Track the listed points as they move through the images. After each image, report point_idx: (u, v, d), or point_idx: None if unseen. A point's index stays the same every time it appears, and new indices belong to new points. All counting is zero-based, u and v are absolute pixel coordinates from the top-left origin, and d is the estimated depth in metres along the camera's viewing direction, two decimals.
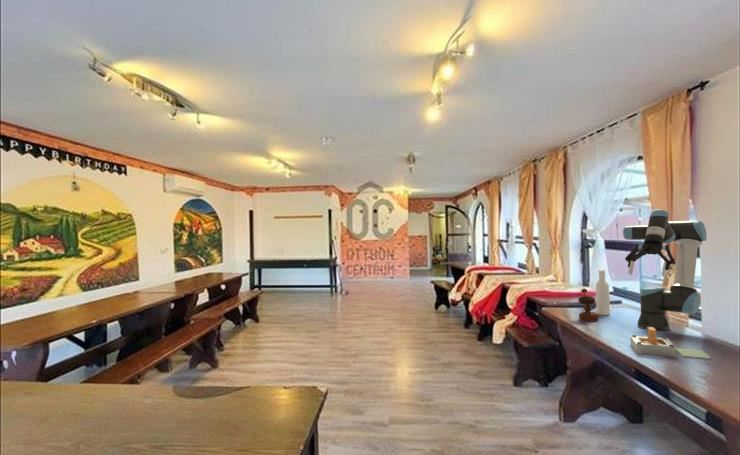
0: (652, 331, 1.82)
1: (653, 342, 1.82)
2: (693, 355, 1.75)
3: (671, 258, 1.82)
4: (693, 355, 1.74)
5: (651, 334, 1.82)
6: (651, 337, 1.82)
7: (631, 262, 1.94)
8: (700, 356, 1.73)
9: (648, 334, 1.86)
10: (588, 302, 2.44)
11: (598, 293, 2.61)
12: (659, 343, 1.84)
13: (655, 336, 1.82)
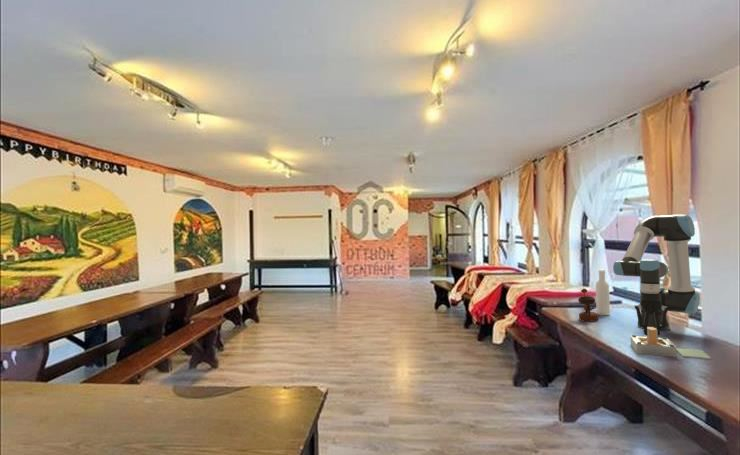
0: (652, 331, 1.82)
1: (653, 342, 1.82)
2: (693, 355, 1.75)
3: (663, 324, 1.82)
4: (693, 355, 1.74)
5: (651, 334, 1.82)
6: (651, 337, 1.82)
7: (648, 330, 1.84)
8: (700, 356, 1.73)
9: None
10: (588, 302, 2.44)
11: (598, 293, 2.61)
12: (659, 343, 1.84)
13: (655, 336, 1.82)
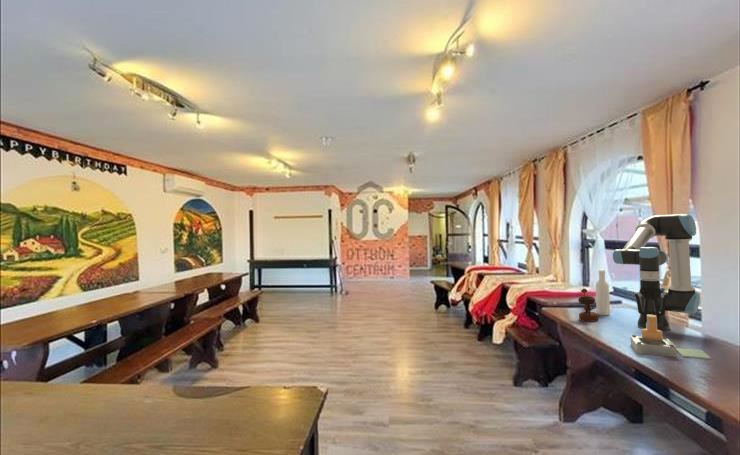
0: (651, 318, 1.83)
1: (652, 329, 1.83)
2: (693, 355, 1.75)
3: (662, 311, 1.82)
4: (693, 355, 1.74)
5: (650, 321, 1.83)
6: (650, 324, 1.83)
7: (647, 318, 1.85)
8: (700, 356, 1.73)
9: None
10: (588, 302, 2.44)
11: (598, 293, 2.61)
12: (658, 330, 1.85)
13: (654, 323, 1.82)
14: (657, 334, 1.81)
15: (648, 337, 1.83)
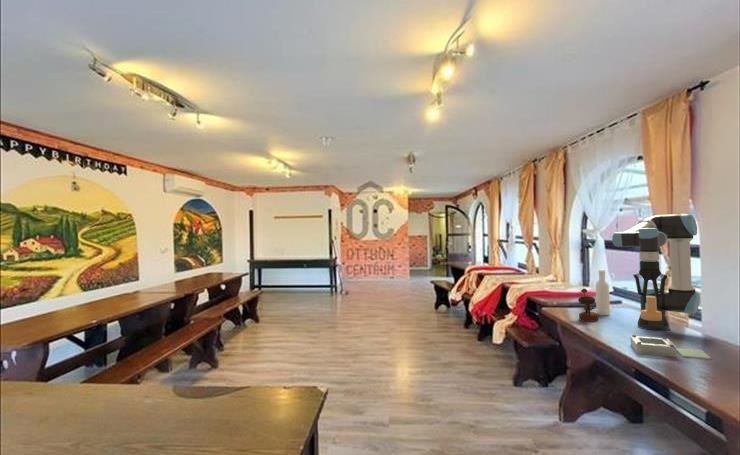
0: (651, 299, 1.82)
1: (652, 310, 1.82)
2: (693, 355, 1.75)
3: (662, 292, 1.82)
4: (693, 355, 1.74)
5: (650, 302, 1.83)
6: (650, 305, 1.83)
7: (647, 299, 1.84)
8: (700, 356, 1.73)
9: None
10: (588, 302, 2.44)
11: (598, 293, 2.61)
12: (658, 311, 1.84)
13: (654, 304, 1.82)
14: (656, 314, 1.81)
15: (647, 318, 1.83)
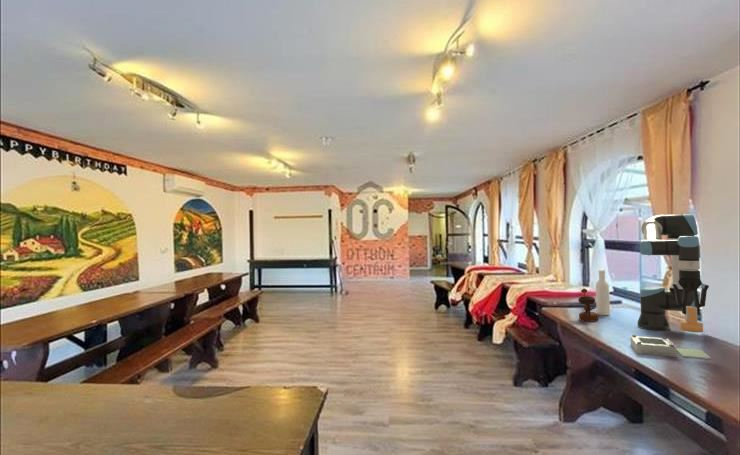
0: (692, 309, 1.76)
1: (693, 321, 1.76)
2: (693, 355, 1.75)
3: (703, 302, 1.76)
4: (693, 355, 1.74)
5: (690, 313, 1.76)
6: (690, 316, 1.76)
7: (687, 309, 1.78)
8: (700, 356, 1.73)
9: None
10: (588, 302, 2.44)
11: (598, 293, 2.61)
12: (698, 322, 1.78)
13: (695, 315, 1.75)
14: (698, 326, 1.74)
15: (688, 329, 1.76)
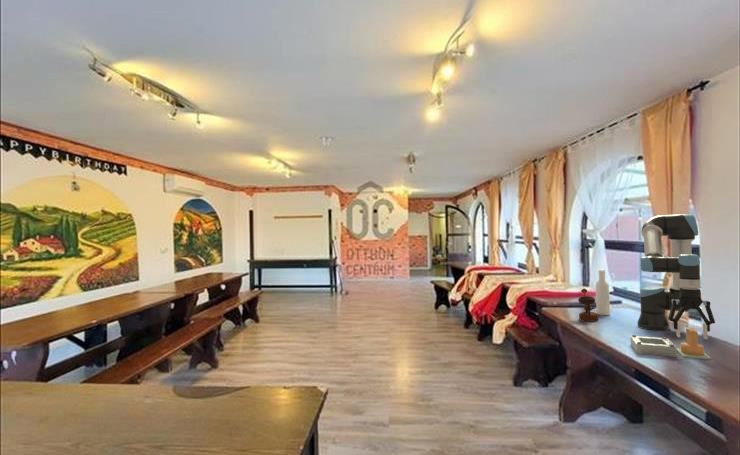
0: (693, 332, 1.76)
1: (694, 344, 1.76)
2: (693, 355, 1.75)
3: (712, 319, 1.74)
4: (693, 355, 1.74)
5: (692, 335, 1.76)
6: (692, 339, 1.76)
7: (678, 325, 1.79)
8: (700, 356, 1.73)
9: (687, 335, 1.80)
10: (588, 302, 2.44)
11: (598, 293, 2.61)
12: (699, 345, 1.78)
13: (696, 337, 1.75)
14: (699, 349, 1.74)
15: (689, 352, 1.76)
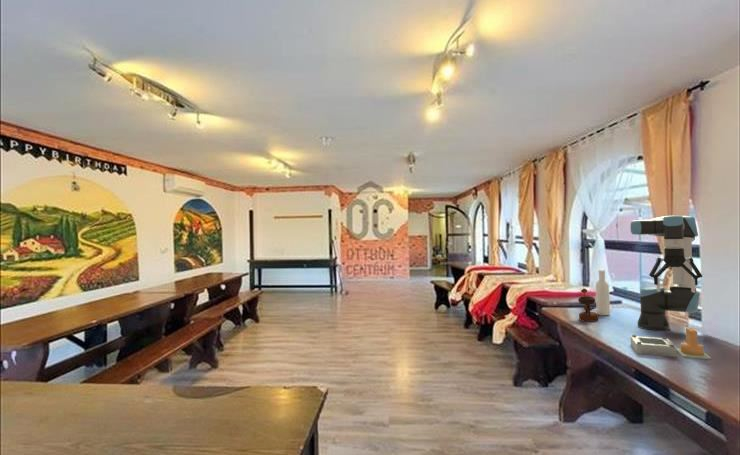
0: (693, 332, 1.76)
1: (694, 344, 1.76)
2: (693, 355, 1.75)
3: (699, 274, 1.83)
4: (693, 355, 1.74)
5: (691, 335, 1.76)
6: (692, 339, 1.76)
7: (658, 280, 1.89)
8: (700, 356, 1.73)
9: (687, 335, 1.80)
10: (588, 302, 2.44)
11: (598, 293, 2.61)
12: (699, 345, 1.78)
13: (696, 337, 1.75)
14: (699, 349, 1.74)
15: (689, 352, 1.76)
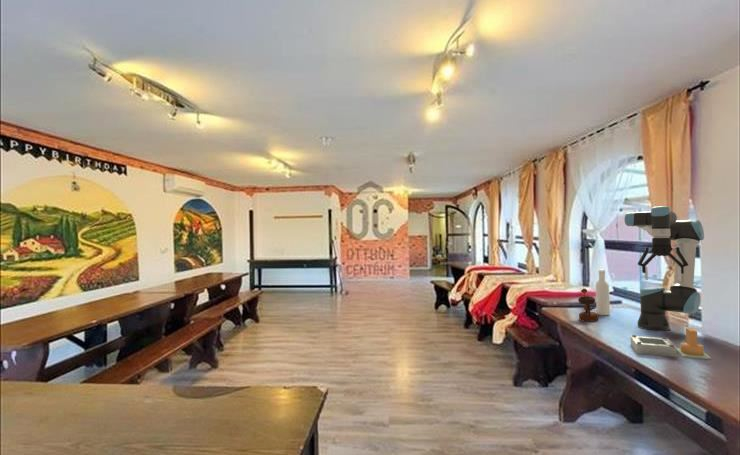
0: (692, 332, 1.76)
1: (694, 344, 1.76)
2: (693, 355, 1.75)
3: (685, 262, 1.90)
4: (693, 355, 1.74)
5: (691, 335, 1.76)
6: (691, 338, 1.76)
7: (646, 268, 1.97)
8: (700, 356, 1.73)
9: (687, 335, 1.80)
10: (588, 302, 2.44)
11: (598, 293, 2.61)
12: (699, 344, 1.78)
13: (696, 337, 1.75)
14: (699, 349, 1.74)
15: (689, 352, 1.76)
